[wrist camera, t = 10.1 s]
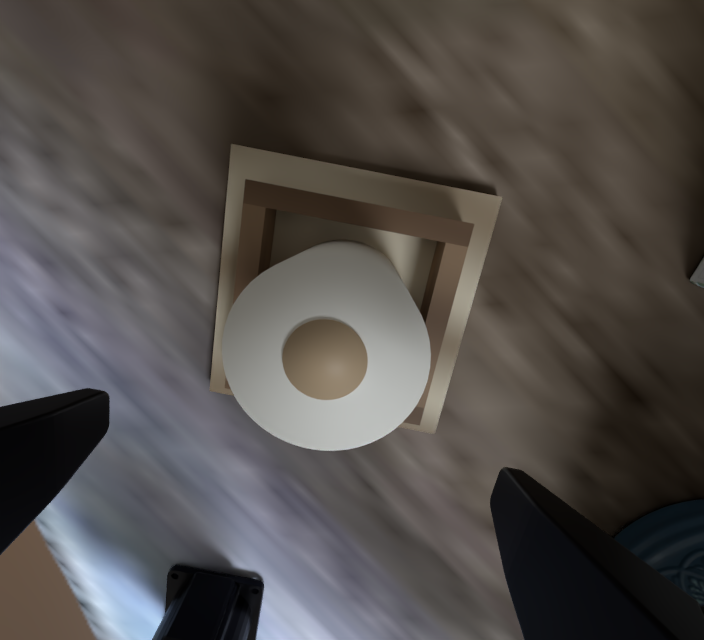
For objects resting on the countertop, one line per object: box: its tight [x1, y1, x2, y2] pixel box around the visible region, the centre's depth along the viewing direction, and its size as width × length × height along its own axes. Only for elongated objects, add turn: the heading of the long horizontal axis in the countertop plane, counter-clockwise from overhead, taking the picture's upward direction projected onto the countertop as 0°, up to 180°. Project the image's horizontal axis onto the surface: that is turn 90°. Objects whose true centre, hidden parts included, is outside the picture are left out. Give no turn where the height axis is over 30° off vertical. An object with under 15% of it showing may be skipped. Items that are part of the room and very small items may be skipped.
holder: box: [210, 144, 503, 434], centre depth 18 cm, size 13×13×3 cm
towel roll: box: [222, 239, 431, 451], centre depth 15 cm, size 6×6×8 cm
